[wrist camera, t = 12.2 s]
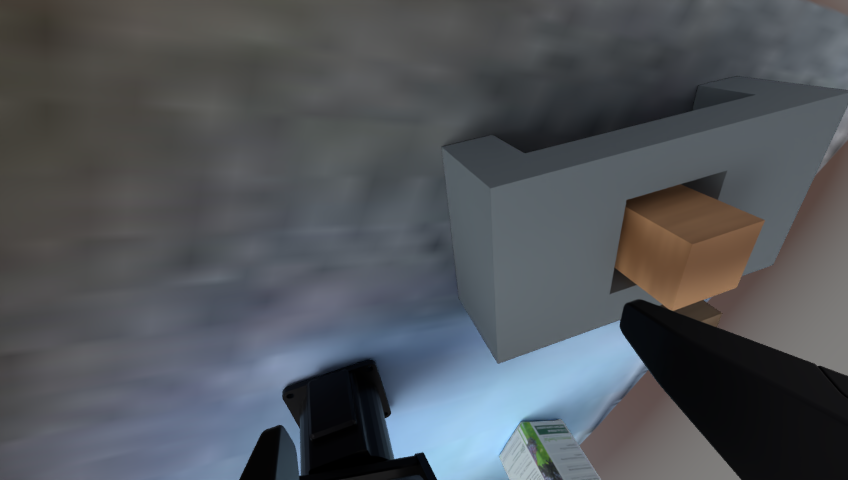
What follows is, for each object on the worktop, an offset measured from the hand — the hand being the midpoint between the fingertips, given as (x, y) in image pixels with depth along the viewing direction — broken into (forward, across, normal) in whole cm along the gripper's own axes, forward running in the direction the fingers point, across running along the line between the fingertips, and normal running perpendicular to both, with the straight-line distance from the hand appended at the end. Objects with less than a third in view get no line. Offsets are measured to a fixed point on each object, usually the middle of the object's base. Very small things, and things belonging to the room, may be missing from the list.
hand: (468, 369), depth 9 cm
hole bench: (+13, -14, +4) cm, 20 cm away
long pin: (+13, -14, +5) cm, 20 cm away
